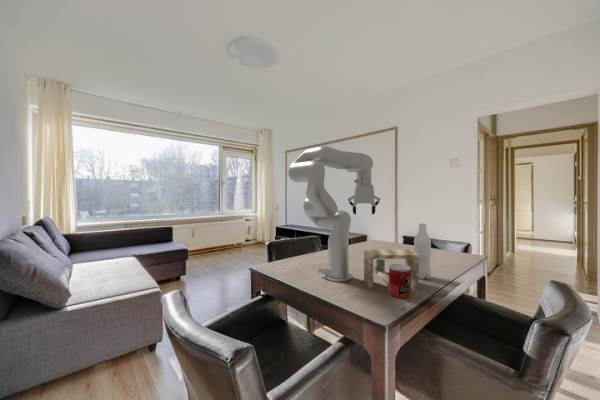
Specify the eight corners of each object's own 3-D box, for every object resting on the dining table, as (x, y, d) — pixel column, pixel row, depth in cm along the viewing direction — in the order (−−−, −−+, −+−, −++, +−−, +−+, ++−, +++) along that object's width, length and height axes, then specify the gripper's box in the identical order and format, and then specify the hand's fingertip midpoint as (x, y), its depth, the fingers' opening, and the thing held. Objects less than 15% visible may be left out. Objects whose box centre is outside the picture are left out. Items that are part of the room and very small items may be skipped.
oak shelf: (369, 288, 102) (369, 255, 101) (364, 280, 112) (363, 249, 111) (418, 288, 101) (418, 255, 101) (408, 280, 111) (408, 249, 111)
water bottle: (433, 280, 111) (433, 225, 110) (416, 279, 112) (416, 224, 111) (428, 275, 118) (428, 223, 117) (412, 274, 119) (412, 222, 118)
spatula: (387, 286, 104) (387, 269, 104) (374, 271, 124) (374, 257, 124) (396, 286, 104) (396, 269, 104) (382, 271, 124) (382, 257, 124)
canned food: (402, 300, 90) (402, 271, 90) (384, 293, 97) (384, 265, 97) (415, 296, 94) (415, 267, 94) (397, 289, 101) (397, 262, 101)
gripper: (348, 182, 128) (348, 214, 128) (382, 181, 127) (382, 214, 128) (346, 182, 135) (346, 213, 136) (378, 182, 135) (378, 213, 135)
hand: (363, 214), depth 132 cm, fingers open, 9 cm apart
